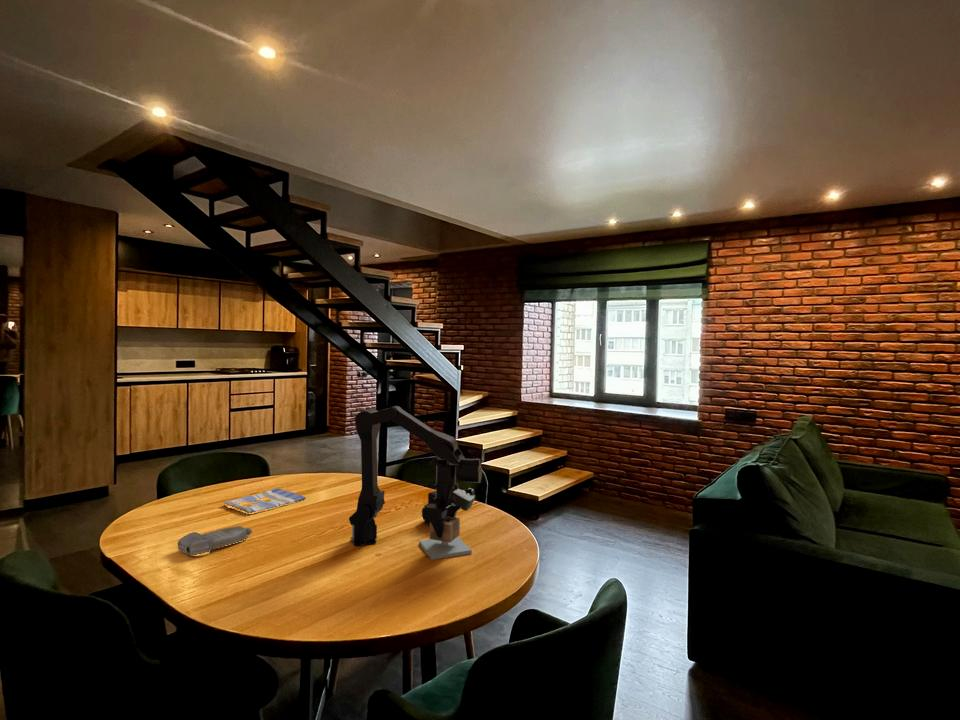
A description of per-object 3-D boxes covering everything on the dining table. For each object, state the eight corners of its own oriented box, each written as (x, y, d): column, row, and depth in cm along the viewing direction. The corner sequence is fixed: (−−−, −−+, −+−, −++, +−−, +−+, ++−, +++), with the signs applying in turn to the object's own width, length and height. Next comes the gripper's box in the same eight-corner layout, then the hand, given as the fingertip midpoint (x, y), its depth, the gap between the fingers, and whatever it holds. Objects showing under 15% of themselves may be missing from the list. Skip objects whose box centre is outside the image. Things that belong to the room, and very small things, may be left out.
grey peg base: (431, 559, 141) (431, 531, 141) (419, 544, 152) (419, 518, 152) (471, 553, 146) (472, 526, 146) (456, 538, 157) (457, 513, 157)
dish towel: (221, 508, 184) (221, 500, 184) (279, 493, 203) (279, 486, 203) (247, 517, 174) (247, 509, 174) (306, 501, 193) (306, 494, 193)
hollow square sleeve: (429, 539, 147) (430, 521, 147) (439, 531, 153) (439, 515, 153) (450, 542, 145) (450, 525, 144) (459, 534, 151) (459, 518, 151)
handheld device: (260, 539, 154) (260, 524, 154) (191, 561, 138) (191, 544, 138) (243, 532, 160) (243, 517, 160) (174, 553, 144) (174, 536, 143)
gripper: (458, 492, 137) (457, 549, 137) (483, 476, 154) (482, 527, 155) (421, 487, 141) (420, 543, 141) (449, 472, 158) (448, 522, 159)
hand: (444, 533), depth 149 cm, fingers closed on hollow square sleeve, 6 cm apart
